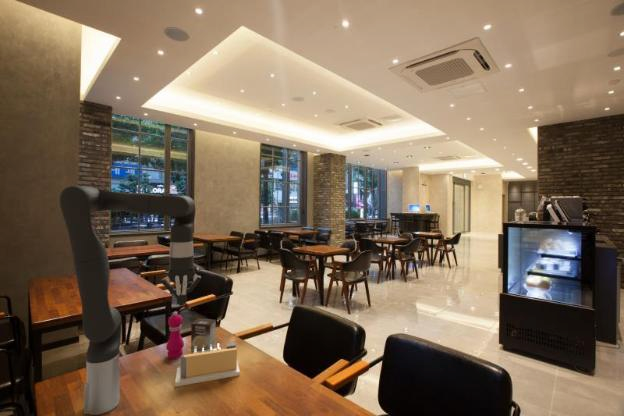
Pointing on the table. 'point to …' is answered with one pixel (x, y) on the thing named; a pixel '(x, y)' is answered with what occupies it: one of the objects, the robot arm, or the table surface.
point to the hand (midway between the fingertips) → (181, 305)
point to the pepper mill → (175, 337)
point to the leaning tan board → (208, 362)
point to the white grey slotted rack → (209, 376)
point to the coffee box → (203, 334)
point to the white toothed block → (207, 349)
